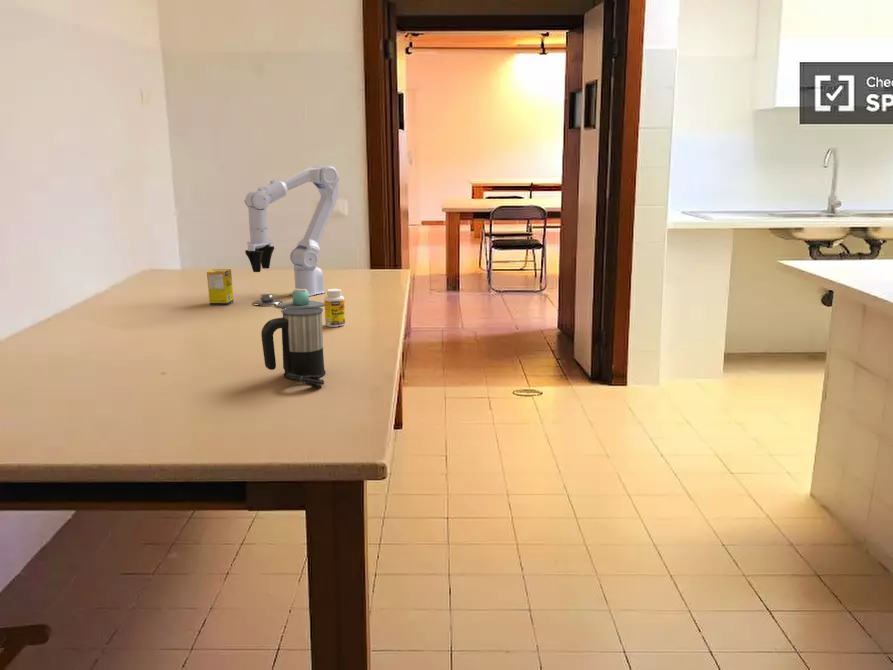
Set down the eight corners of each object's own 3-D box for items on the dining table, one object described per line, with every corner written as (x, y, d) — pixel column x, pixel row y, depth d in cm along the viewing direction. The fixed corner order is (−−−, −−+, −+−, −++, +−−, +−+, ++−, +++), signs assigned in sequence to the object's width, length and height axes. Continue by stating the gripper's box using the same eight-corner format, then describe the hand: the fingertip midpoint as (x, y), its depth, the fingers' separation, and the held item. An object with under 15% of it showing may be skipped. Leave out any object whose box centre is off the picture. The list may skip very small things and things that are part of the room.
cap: (311, 303, 254) (311, 288, 253) (304, 305, 250) (303, 290, 249) (297, 302, 256) (297, 287, 255) (289, 304, 251) (289, 289, 250)
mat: (303, 300, 261) (303, 299, 261) (328, 305, 254) (328, 303, 253) (274, 306, 252) (274, 305, 252) (299, 311, 245) (299, 309, 244)
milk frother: (308, 366, 184) (304, 303, 181) (355, 379, 174) (352, 312, 171) (257, 380, 174) (252, 314, 170) (304, 394, 164) (300, 324, 160)
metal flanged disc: (269, 299, 263) (269, 291, 263) (287, 302, 258) (287, 294, 257) (247, 304, 257) (246, 295, 256) (265, 307, 251) (264, 298, 250)
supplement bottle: (330, 328, 221) (329, 292, 219) (322, 325, 226) (320, 289, 224) (348, 325, 224) (347, 290, 222) (340, 322, 229) (338, 287, 227)
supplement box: (234, 301, 261) (231, 268, 258) (227, 305, 255) (224, 271, 252) (216, 301, 261) (213, 268, 259) (209, 305, 255) (206, 271, 253)
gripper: (255, 226, 265) (258, 266, 268) (237, 230, 251) (240, 273, 255) (275, 226, 264) (278, 266, 267) (258, 231, 250) (261, 273, 253)
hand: (261, 270), depth 261 cm, fingers open, 7 cm apart
